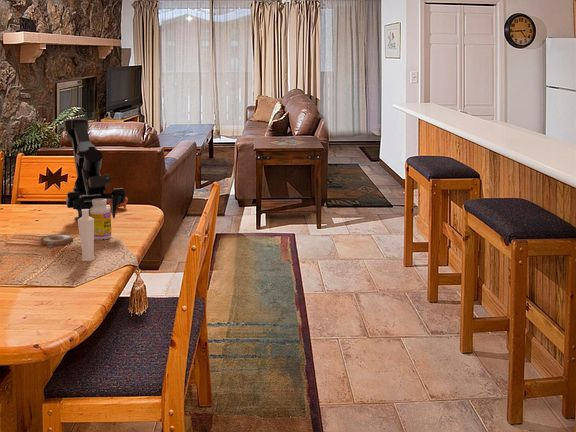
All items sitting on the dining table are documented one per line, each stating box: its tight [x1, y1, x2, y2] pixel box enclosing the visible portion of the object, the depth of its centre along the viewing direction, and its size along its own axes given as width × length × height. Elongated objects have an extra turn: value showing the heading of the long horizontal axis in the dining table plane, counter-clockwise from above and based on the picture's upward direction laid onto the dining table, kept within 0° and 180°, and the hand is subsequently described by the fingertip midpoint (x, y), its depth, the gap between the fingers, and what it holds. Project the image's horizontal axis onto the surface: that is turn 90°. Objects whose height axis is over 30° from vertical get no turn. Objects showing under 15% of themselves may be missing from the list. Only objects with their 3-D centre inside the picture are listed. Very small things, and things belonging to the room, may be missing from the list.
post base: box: [39, 232, 74, 249], centre depth 207 cm, size 13×10×1 cm
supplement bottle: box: [89, 198, 112, 241], centre depth 211 cm, size 7×7×13 cm
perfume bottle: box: [77, 209, 96, 262], centre depth 188 cm, size 5×4×15 cm
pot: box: [107, 196, 129, 210], centre depth 255 cm, size 8×8×7 cm
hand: (101, 219), depth 210 cm, fingers open, 8 cm apart
